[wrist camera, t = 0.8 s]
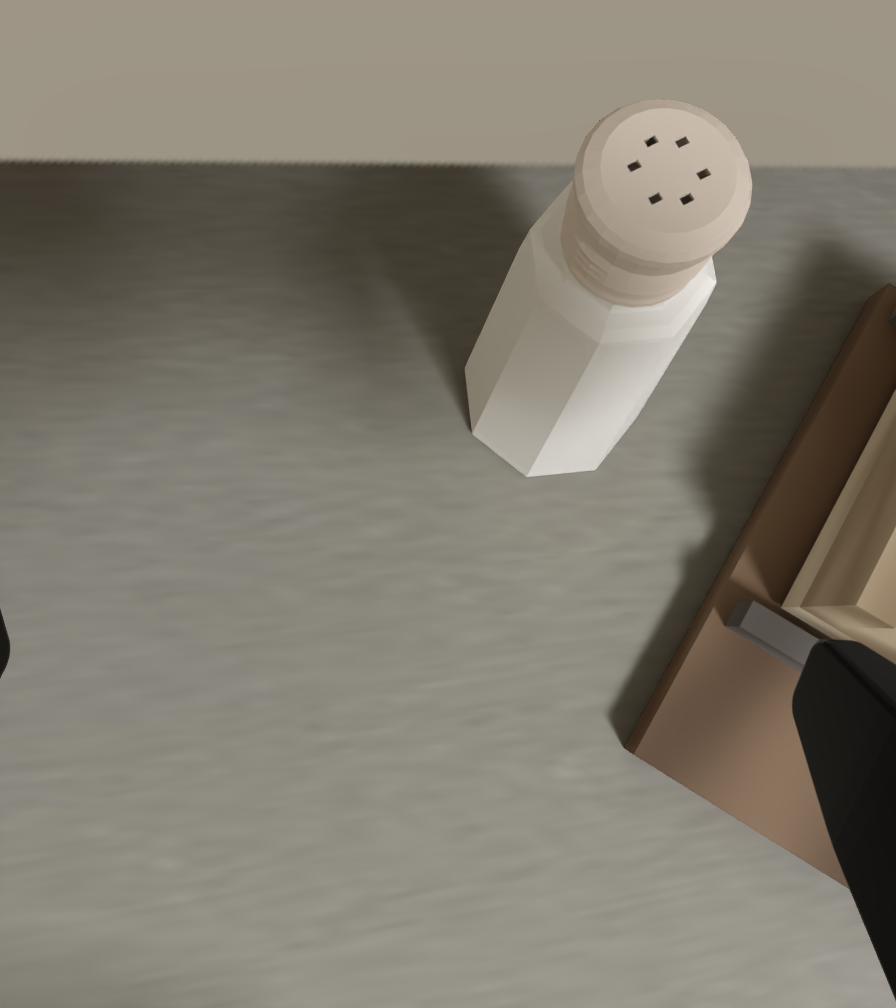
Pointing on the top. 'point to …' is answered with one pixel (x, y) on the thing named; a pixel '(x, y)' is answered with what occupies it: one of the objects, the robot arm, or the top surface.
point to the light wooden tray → (857, 553)
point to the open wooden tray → (770, 619)
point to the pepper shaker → (606, 287)
